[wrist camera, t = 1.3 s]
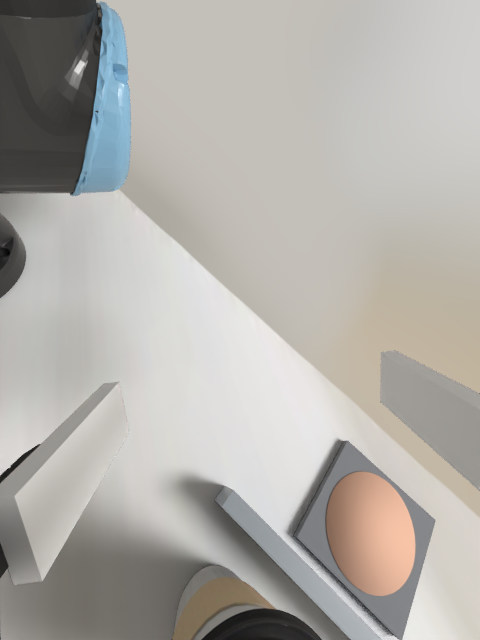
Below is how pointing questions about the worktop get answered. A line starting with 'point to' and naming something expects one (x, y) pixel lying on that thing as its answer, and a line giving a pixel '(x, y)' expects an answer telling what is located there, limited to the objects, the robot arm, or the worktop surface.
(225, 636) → the coffee cup
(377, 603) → the mat
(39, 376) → the worktop surface
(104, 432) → the robot arm
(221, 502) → the blue-grey rectangular bar
